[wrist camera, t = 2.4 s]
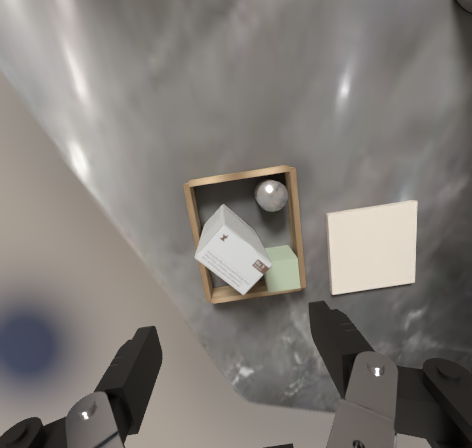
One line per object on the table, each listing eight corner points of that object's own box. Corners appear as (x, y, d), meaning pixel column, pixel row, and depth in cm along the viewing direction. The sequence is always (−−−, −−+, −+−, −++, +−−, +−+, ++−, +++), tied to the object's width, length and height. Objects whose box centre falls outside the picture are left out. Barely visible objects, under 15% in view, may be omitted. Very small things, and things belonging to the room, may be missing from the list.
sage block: (287, 244, 34) (297, 258, 29) (290, 270, 35) (300, 288, 30) (259, 249, 34) (264, 263, 29) (263, 275, 35) (268, 292, 30)
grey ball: (279, 177, 31) (286, 178, 27) (282, 204, 32) (289, 209, 28) (252, 181, 31) (255, 183, 27) (255, 208, 32) (259, 213, 28)
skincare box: (202, 225, 33) (188, 259, 21) (224, 201, 32) (221, 221, 20) (236, 253, 34) (241, 300, 22) (258, 230, 33) (274, 265, 21)
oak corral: (288, 164, 31) (295, 164, 28) (299, 279, 35) (306, 289, 32) (186, 180, 31) (182, 181, 28) (208, 293, 35) (207, 304, 32)
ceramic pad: (412, 200, 32) (417, 201, 32) (410, 280, 35) (414, 282, 35) (325, 213, 33) (327, 214, 32) (330, 292, 35) (332, 294, 35)
